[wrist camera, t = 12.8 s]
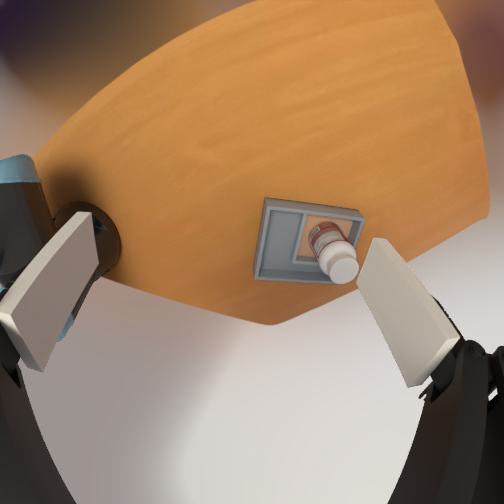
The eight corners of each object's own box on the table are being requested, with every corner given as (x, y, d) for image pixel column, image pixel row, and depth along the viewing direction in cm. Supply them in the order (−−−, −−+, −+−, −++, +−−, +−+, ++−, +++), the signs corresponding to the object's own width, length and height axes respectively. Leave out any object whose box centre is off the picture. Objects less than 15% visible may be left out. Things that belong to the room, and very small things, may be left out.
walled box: (252, 267, 53) (254, 279, 50) (264, 197, 46) (267, 205, 43) (336, 273, 55) (342, 284, 52) (357, 210, 48) (365, 218, 45)
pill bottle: (340, 246, 51) (362, 284, 41) (308, 252, 51) (325, 292, 42) (340, 216, 47) (365, 250, 38) (306, 222, 48) (324, 258, 38)
